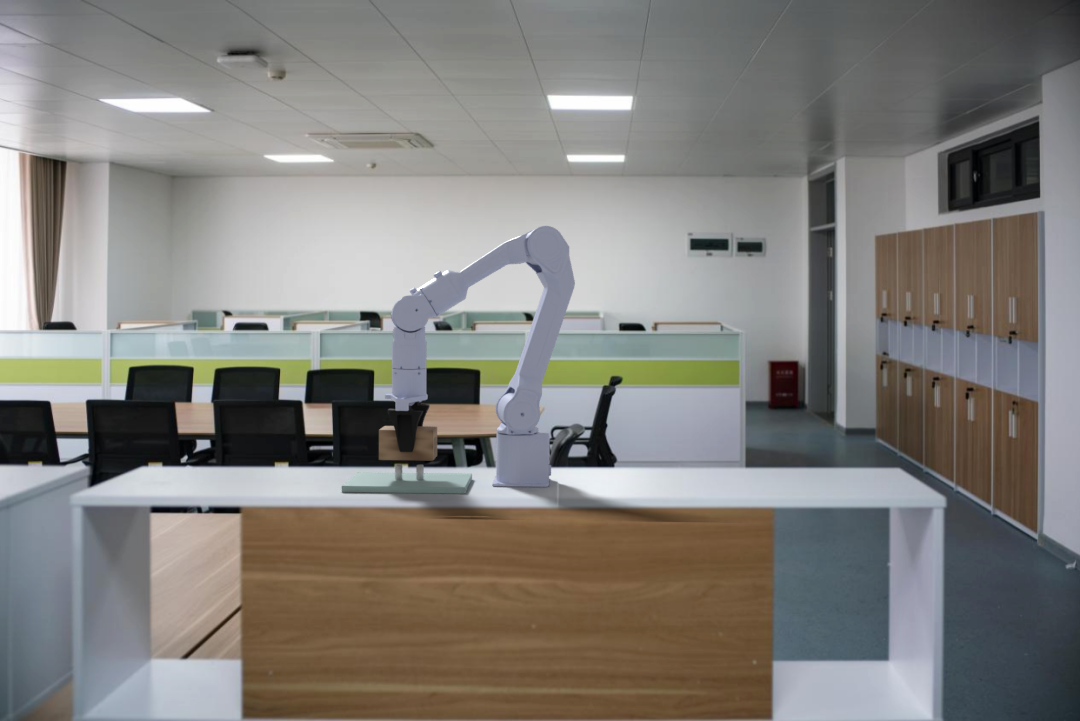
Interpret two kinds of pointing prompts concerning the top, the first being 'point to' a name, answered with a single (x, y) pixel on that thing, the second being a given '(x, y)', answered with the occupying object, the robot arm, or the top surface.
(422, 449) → the box
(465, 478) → the pin board
